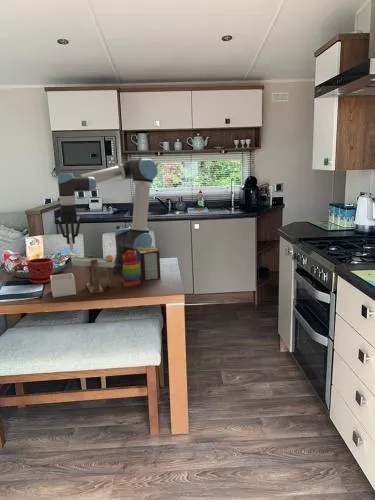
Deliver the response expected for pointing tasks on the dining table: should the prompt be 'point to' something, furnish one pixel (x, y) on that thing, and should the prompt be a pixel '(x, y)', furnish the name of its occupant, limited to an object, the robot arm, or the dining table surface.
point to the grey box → (63, 285)
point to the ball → (109, 258)
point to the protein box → (148, 262)
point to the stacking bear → (130, 269)
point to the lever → (87, 261)
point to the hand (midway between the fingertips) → (71, 250)
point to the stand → (97, 277)
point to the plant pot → (40, 270)
